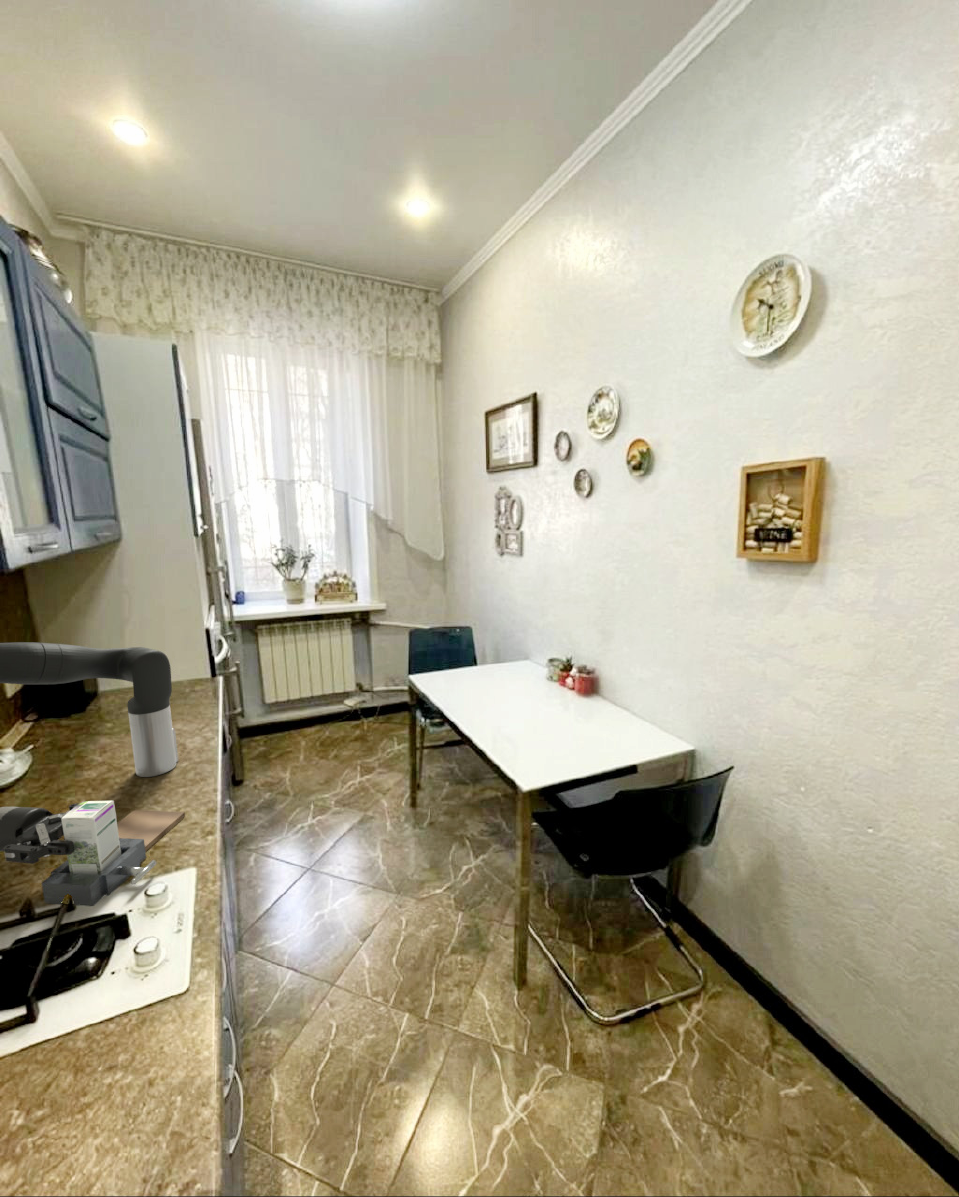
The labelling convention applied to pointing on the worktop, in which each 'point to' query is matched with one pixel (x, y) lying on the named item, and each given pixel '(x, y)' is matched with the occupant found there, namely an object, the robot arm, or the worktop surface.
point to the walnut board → (148, 825)
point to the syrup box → (92, 836)
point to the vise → (97, 877)
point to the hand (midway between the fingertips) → (93, 832)
